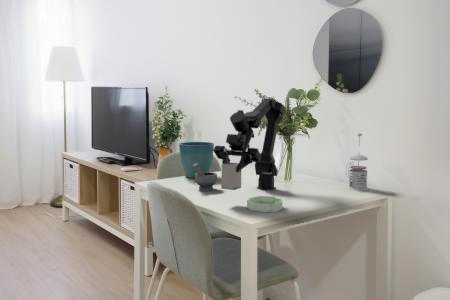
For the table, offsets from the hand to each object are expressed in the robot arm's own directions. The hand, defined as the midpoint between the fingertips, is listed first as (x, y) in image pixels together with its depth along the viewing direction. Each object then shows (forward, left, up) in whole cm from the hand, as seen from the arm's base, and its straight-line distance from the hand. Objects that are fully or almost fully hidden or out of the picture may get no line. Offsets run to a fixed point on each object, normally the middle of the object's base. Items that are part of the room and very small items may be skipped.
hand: (229, 171), depth 173 cm
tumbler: (-1, -1, -7) cm, 7 cm away
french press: (-65, +7, -13) cm, 66 cm away
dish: (-9, +11, -13) cm, 19 cm away
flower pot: (-20, -58, -13) cm, 63 cm away
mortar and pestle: (-7, -29, -13) cm, 33 cm away
